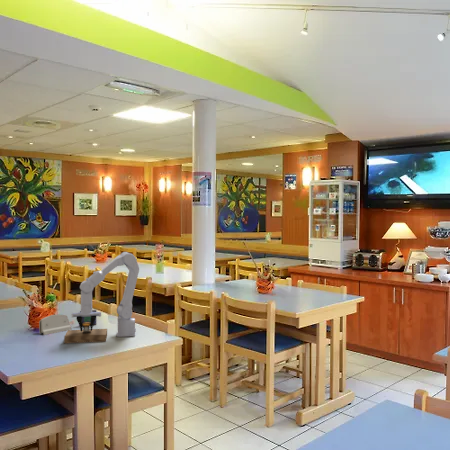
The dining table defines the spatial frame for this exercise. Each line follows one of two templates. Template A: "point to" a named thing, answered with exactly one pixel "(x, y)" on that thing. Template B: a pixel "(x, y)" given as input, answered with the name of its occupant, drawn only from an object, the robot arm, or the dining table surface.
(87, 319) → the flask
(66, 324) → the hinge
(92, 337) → the hitch block
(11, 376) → the dining table surface
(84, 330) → the pin
